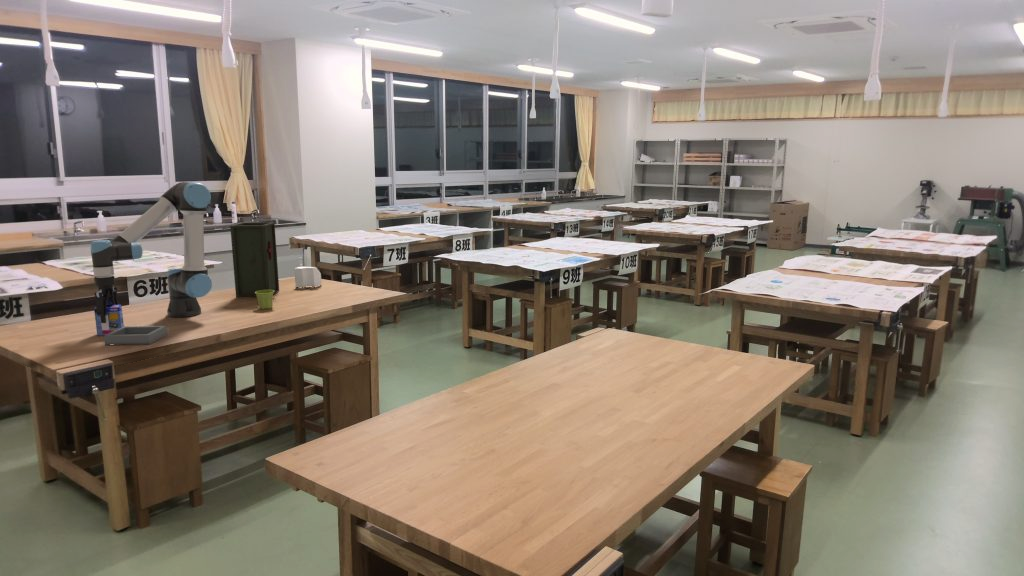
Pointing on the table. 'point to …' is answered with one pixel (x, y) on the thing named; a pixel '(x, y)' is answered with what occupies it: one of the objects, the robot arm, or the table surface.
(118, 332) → the tray
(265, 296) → the plant pot
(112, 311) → the ink cartridge box
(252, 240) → the first aid box
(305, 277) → the white rounded block
